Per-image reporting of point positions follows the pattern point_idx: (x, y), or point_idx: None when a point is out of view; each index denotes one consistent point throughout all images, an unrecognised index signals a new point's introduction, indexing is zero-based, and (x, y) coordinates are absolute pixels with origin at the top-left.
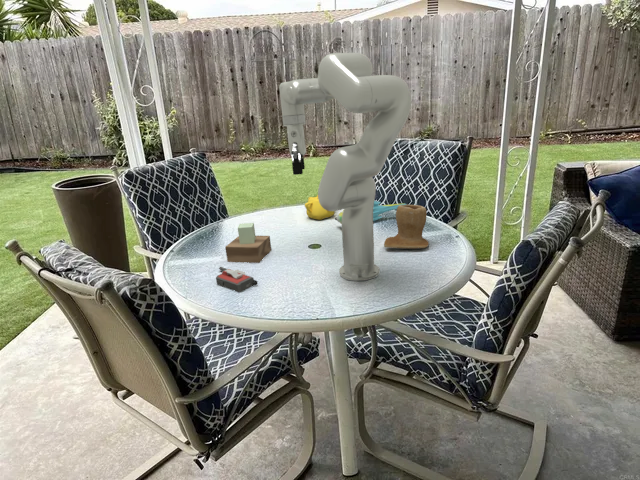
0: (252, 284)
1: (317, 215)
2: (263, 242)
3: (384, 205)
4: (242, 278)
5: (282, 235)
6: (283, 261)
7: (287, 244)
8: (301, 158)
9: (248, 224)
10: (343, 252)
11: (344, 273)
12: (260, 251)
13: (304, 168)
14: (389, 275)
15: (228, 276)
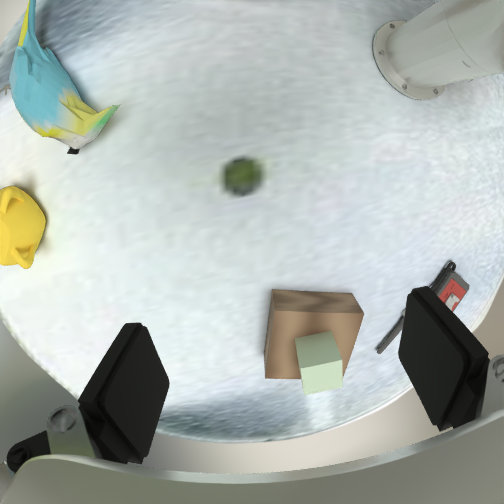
0: (451, 269)
1: (41, 223)
2: (323, 311)
3: (19, 44)
4: (456, 290)
5: (159, 288)
6: (349, 240)
7: (227, 259)
8: (112, 418)
9: (315, 375)
10: (452, 82)
11: (432, 90)
12: (344, 304)
13: (138, 323)
14: (412, 12)
15: None
